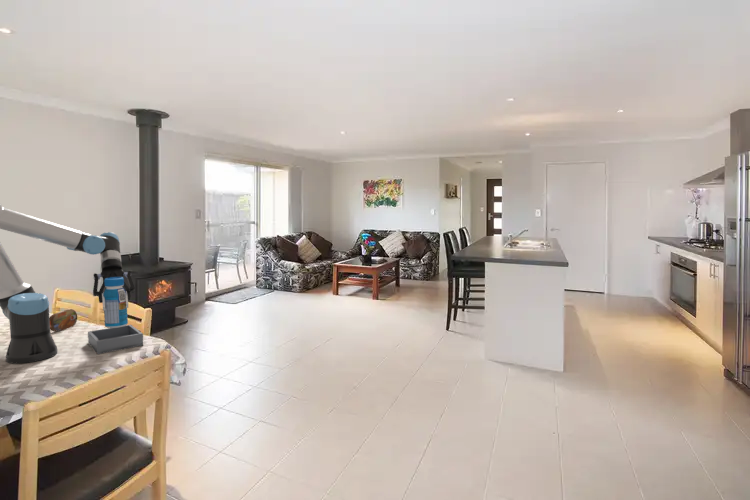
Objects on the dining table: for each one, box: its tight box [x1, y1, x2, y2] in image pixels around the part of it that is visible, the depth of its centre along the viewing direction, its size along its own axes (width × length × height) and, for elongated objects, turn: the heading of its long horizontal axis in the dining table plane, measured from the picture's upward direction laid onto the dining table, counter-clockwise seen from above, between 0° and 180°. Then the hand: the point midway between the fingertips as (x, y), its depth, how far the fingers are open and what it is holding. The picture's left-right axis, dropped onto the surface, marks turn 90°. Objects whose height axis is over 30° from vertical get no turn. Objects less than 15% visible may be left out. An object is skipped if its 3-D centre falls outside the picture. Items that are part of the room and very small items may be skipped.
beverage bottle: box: [103, 276, 129, 329], centre depth 174 cm, size 8×8×20 cm
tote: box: [87, 324, 144, 355], centre depth 175 cm, size 18×16×5 cm
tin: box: [49, 308, 78, 332], centre depth 196 cm, size 15×3×8 cm, turn 179°
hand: (115, 307), depth 171 cm, fingers closed on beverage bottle, 7 cm apart
